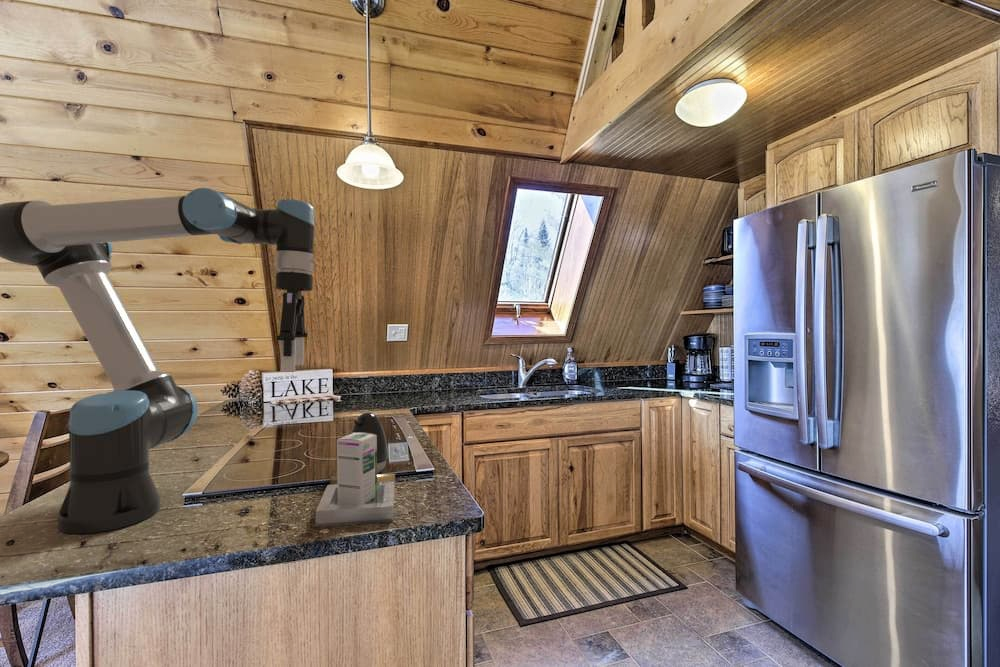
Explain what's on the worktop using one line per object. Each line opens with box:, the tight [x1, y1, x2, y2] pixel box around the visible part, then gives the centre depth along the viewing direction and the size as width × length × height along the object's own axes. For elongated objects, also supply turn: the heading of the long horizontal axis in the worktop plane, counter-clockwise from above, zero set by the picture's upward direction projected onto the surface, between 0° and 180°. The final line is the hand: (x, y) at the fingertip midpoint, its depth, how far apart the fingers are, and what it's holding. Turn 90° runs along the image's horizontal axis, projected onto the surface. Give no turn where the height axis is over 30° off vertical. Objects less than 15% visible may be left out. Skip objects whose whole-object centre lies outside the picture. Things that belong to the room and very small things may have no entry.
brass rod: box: [329, 473, 396, 488], centre depth 108 cm, size 14×3×3 cm, turn 101°
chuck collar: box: [315, 481, 395, 528], centre depth 96 cm, size 14×14×3 cm
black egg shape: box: [350, 412, 389, 474], centre depth 119 cm, size 10×10×15 cm
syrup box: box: [336, 433, 378, 506], centre depth 96 cm, size 6×6×14 cm
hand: (292, 368), depth 106 cm, fingers open, 13 cm apart
